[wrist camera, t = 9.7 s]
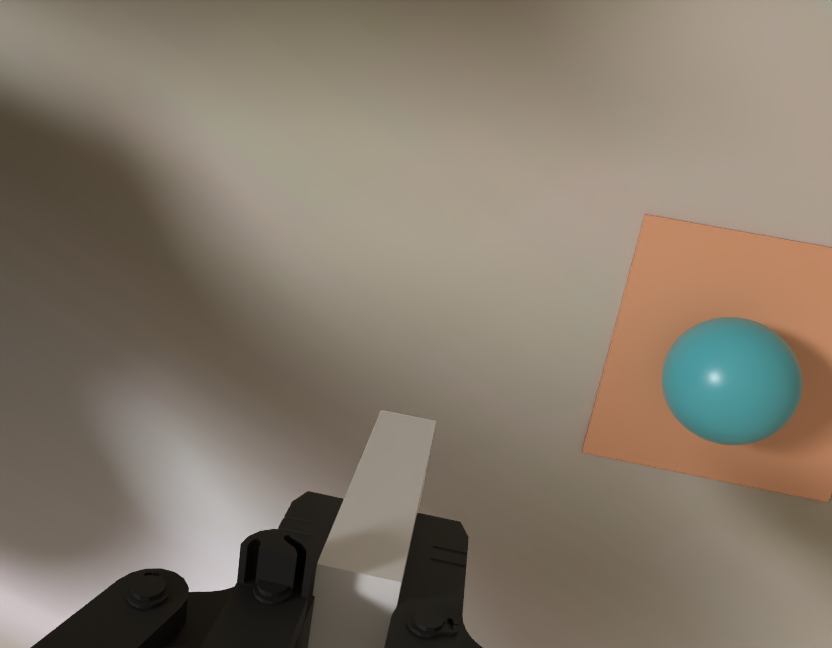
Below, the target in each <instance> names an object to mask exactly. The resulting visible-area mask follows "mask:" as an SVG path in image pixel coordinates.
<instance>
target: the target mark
mask: <svg viewBox="0 0 832 648" xmlns="http://www.w3.org/2000/svg"><path fill="white" fill-rule="evenodd" d="M722 317H738V318H745V319H748V320H752V321H755V322H758V323H760V324H763V325H765V326H767V327H768V328H770V329H772V330H773V331H774V332H776V333H777V334H778V335H780V336H781V337H782V338H783V339H784V340H785V341H786V343H787V344H788V345H789V346H790V347H791V349H792V351H793V352H794V354H795V356H796V358H797V360H798V362H799V365H800V369H801V374H802V394H801V398H800V402H799V404H798V407H797V409H796V411H795V413H794V414H793V416H792V417H791V419H790V420H789V421H788V422H787V423H786V425H785V426H784V427H782V428H781V429H780V430H779V431H777V432H776V433H775V434H773V435H771V436H770V437H768V438H766V439H763V440H761V441H758V442H755V443H751V444H746V445H723V444H718V443H714V442H710V441H707V440H705V439H702V438H700V437H698V436H697V435H695V434H693V433H692V432H690V431H689V430H688V429H686V428H685V427H684V426H683V425H682V424H681V423H680V422H679V421H678V420H677V419H676V418H675V416H674V415H673V414H672V412H671V410H670V409H669V407H668V405H667V403H666V400H665V397H664V394H663V389H662V369H663V365H664V361H665V358H666V355H667V354H668V352H669V350H670V348H671V347H672V345H673V344H674V343H675V341H676V340H677V339H678V338H679V337H680V336H681V335H682V334H683V333H685V332H686V331H687V330H688V329H690V328H692V327H693V326H695V325H697V324H699V323H702V322H704V321H707V320H711V319H715V318H722ZM582 453H586V454H591V455H596V456H601V457H606V458H611V459H616V460H621V461H626V462H631V463H636V464H641V465H646V466H650V467H655V468H660V469H665V470H670V471H675V472H680V473H685V474H690V475H695V476H700V477H705V478H710V479H715V480H719V481H724V482H729V483H734V484H739V485H744V486H749V487H754V488H759V489H764V490H769V491H774V492H779V493H784V494H788V495H793V496H798V497H803V498H808V499H813V500H818V501H823V502H829V499H830V497H831V494H832V247H826V246H821V245H815V244H809V243H804V242H798V241H793V240H787V239H781V238H776V237H770V236H764V235H759V234H753V233H748V232H742V231H736V230H731V229H725V228H720V227H714V226H708V225H703V224H697V223H692V222H686V221H680V220H675V219H669V218H664V217H658V216H652V215H647V214H645V216H644V220H643V224H642V228H641V231H640V235H639V239H638V243H637V246H636V250H635V254H634V258H633V261H632V265H631V269H630V273H629V276H628V280H627V284H626V288H625V291H624V295H623V299H622V303H621V306H620V310H619V314H618V318H617V321H616V325H615V329H614V333H613V336H612V340H611V344H610V348H609V351H608V355H607V359H606V363H605V366H604V370H603V374H602V378H601V381H600V385H599V389H598V393H597V396H596V400H595V404H594V408H593V411H592V415H591V419H590V423H589V426H588V430H587V434H586V438H585V441H584V445H583V449H582Z"/></svg>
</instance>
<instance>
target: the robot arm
mask: <svg viewBox="0 0 832 648" xmlns="http://www.w3.org/2000/svg"><path fill="white" fill-rule="evenodd" d="M435 425H436V421H435V420H430V419H425V418H420V417H415V416H410V415H405V414H400V413H395V412H390V411H385V410H381V411H380V413H379V416H378V418H377V420H376V423H375V425H374V428H373V430H372V432H371V435H370V437H369V440H368V442H367V444H366V447H365V449H364V452H363V454H362V457H361V459H360V461H359V464H358V466H357V469H356V471H355V473H354V476H353V478H352V481H351V483H350V485H349V488H348V490H347V493H346V495H345V498H344V499H342V498H337V497H333V496H328V495H323V494H319V493H314V492H309V491H308V492H306V493H305V494H303V495H302V496H300V497H299V498H297V499H296V500H294V501H293V502H292V503H291V505H290V507H289V509H288V511H287V513H286V514H285V517H284V518H283V520H282V522H281V524H280V525H279V528H278V529H271V530H264V531H259V532H257V533H255V534H253V535H250V536H248V537H247V538H246V539H245V540H244V541H243V542H242V543H241V548H240V558H239V568H238V579H237V583H236V585H235V587H233V588H229V589H225V590H222V591H212V592H188V591H189V587H188V585H187V583H186V581H185V580H184V578H182V577H181V576H179V575H178V574H177V573H175V572H172V571H169V570H165V569H143V570H139V571H136V572H132V573H130V574H128V575H126V576H124V577H122V578H121V579H119V580H117V581H116V582H115V583H114V584H112V585H111V586H110V587H108V588H107V589H106V590H104V591H103V592H102V593H101V594H99V595H98V596H97V597H95V598H94V599H93V600H92V601H90V602H89V603H88V604H86V605H85V606H84V607H83V608H81V609H80V610H79V611H77V612H76V613H75V614H74V615H72V616H71V617H70V618H68V619H67V620H66V621H65V622H63V623H62V624H61V625H59V626H58V627H57V628H56V629H54V630H53V631H52V632H50V633H49V634H48V635H47V636H45V637H44V638H43V639H41V640H40V641H39V642H37V643H36V644H35V645H34V646H32V647H31V648H482V647H481V646H480V645H479V644H477V643H476V642H475V641H474V640H473V639H472V638H471V636H470V635H469V634H468V632H467V631H466V629H465V626H464V624H463V617H462V611H463V599H464V587H465V574H466V562H467V550H468V536H467V534H466V532H465V530H464V528H463V526H462V524H461V522H458V521H454V520H449V519H444V518H439V517H435V516H430V515H425V514H421V513H419V510H420V505H421V499H422V494H423V489H424V483H425V478H426V473H427V468H428V462H429V457H430V452H431V446H432V441H433V436H434V431H435Z"/></svg>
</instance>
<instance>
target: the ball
mask: <svg viewBox="0 0 832 648" xmlns="http://www.w3.org/2000/svg"><path fill="white" fill-rule="evenodd" d="M662 389H663V394H664V397H665V400H666V403H667V405H668V407H669V409H670V410H671V412H672V414H673V415H674V416H675V418H676V419H677V420H678V421H679V422H680V423H681V424H682V425H683V426H684V427H685V428H686V429H688V430H689V431H690V432H692V433H693V434H695V435H697V436H698V437H700V438H702V439H705V440H707V441H710V442H714V443H718V444H723V445H746V444H751V443H755V442H758V441H761V440H763V439H766V438H768V437H770V436H771V435H773V434H775V433H776V432H777V431H779V430H780V429H781V428H782V427H784V426H785V425H786V423H787V422H788V421H789V420H790V419H791V417H792V416H793V414H794V413H795V411H796V409H797V407H798V404H799V402H800V398H801V394H802V374H801V369H800V365H799V362H798V360H797V358H796V356H795V354H794V352H793V351H792V349H791V347H790V346H789V345H788V344H787V343H786V341H785V340H784V339H783V338H782V337H781V336H780V335H778V334H777V333H776V332H774V331H773V330H772V329H770V328H768V327H767V326H765V325H763V324H760V323H758V322H755V321H752V320H748V319H745V318H738V317H722V318H715V319H711V320H707V321H704V322H702V323H699V324H697V325H695V326H693V327H692V328H690V329H688V330H687V331H686V332H685V333H683V334H682V335H681V336H680V337H679V338H678V339H677V340H676V341H675V343H674V344H673V345H672V347H671V348H670V350H669V352H668V354H667V355H666V358H665V361H664V365H663V369H662Z"/></svg>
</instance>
